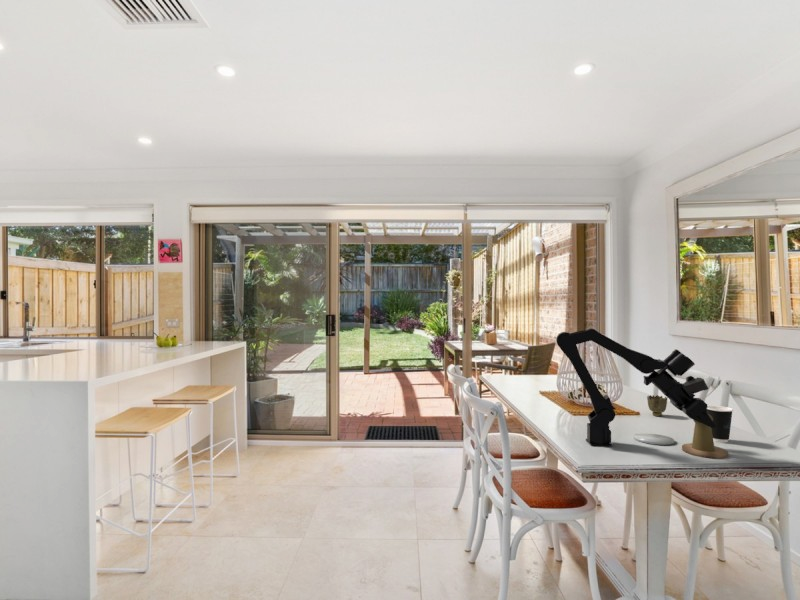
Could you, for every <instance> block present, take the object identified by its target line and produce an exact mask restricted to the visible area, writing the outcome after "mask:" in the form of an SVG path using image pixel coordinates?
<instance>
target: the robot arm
mask: <svg viewBox="0 0 800 600" xmlns="http://www.w3.org/2000/svg"><path fill="white" fill-rule="evenodd" d="M555 340H556V343H557V346H558V347H559V349H560V350H561V351H562V352H563V354H564V355H565V356H566V357H567V358H568V360H569V361H570V363H571V365H572V366H573V368H574V370H575V373H576V374H577V376H578V377H579V380H580V381H581V383H582V385H583V386H584V389H585V391H586V392H587V394H588V396H589V398H590V401H591V406H592V409H593V410H592V411H591V412H590V413H589V414H588V415H587V419H588V421H589V422H587V423H586V438H585V441H586V442H587V443H588V444H589V445H590V446H592V447H593V446H594V447H596V446H597V447H612V430H611V429H610V423H611V422H612V421H614V420H615V417H616V411H615V410H616V407H615V406H614V404H613V403H612V400H611V398H610V397H609V395H608V394H605V395H604V394H602V392H601V391H600V389H599V387H598V386H597V384H596V382H595V381H594V379H593V377H592V375H591V374H590V371H589V370H588V368H587V366H586V365H585V362H584V361H583V359H582V356H581V355H580V352H579V349H578V346H577V345H580V344H584V343H586V342H590V341H591V342H594V343H595V344H596V345H599V346H600V347H602V348H604V349H606V350H608V351H609V352H611V353H613V354H615V355H616V356H619V357H621V358H622V359H624V360H625V362H627V363H628V364H629V365H631V366H632V367H633V368H635V369H636V370H638V371H639V372H640V373H641V374H645V375H644V376H643V384H644V385H645V386H649V385H650V384H653V386H655V387H656V389H658V390H659V391H660V392H661V393H662V395H664V397H666V398H667V399H668V400H669V403H671V405H672V406H673V407H675V408H676V409H678V410H679V411H681V412H682V413H683V414H685V415H686V416H687V417H688V418H690V419H691V420H693V421H694V420H696V421H698V422H700V423H702V424H705V425H707V426H709V427H711V428H715V427H716V425H715V424H714V422H713V421H712V419H711V418H710V417H709V415H708V414H707V412H706V411H707V406H708V404H707V403H706V402H705V401H704V400H703V399H701V398H700V397H695V396H696V393H700V392H703V391H707V390H709V386H708V385H707V383H706V381H705V379H704V378H703V377H702V378H701V377H696V378H695V377H694V376H693V375H689V376H687V377H685V381H684V383H682V382H680V381H679V380H677V379H676V378H674V377H676V376H679V377H682V376H683V375H685V374H686V373H687V372H688V371H689V370H690V369H691V368H693V367H694V366H695V365H696V364H695V362H694V361H693V360H692V359H691V358H689V357H688V356H686V355H685V354H684V353H683V352H681V351H680V350H678V349H676V348H675V349H674V350H673V351H672V352H671V354H669V355H668V356H667V357H666V358H665V359H664V360H662V359H660V358H657V359H655V358H653V357H652V356H651V355H648V354H645V353H643V352H640V351H638V350H637V351H636V350H633V349H632V348H631V349H630V348H628V347H626V346H624V345H623V344H621V343H619V342H618V341H615V340H613V339H611V338H609V337H608V336H606V335H605V334H602V333H601V332H598V331H597V330H596V329H594V328H592V327H591V328H590V327H589V328H587V329H584V330H579V331H578V330H577V331H574V332H569V331H562V332H560V333H558V335H556V339H555ZM670 373H671V374H670ZM648 374H649V375H648ZM672 375H673V376H674V377H673V376H672Z"/></svg>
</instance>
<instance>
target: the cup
mask: <svg viewBox="0 0 800 600" xmlns="http://www.w3.org/2000/svg"><path fill="white" fill-rule="evenodd" d="M646 398H647V399H646V400H647V407H648V409H649V410H650V411H651V412H652V416H655V417H662V416H663V413H664V412H665V411H666V410H667V406H668V397H667V396H664V397H663V396H662V395H658V394H656V395H654V394H653V395H647V396H646Z"/></svg>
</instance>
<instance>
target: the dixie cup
mask: <svg viewBox="0 0 800 600" xmlns="http://www.w3.org/2000/svg"><path fill="white" fill-rule="evenodd" d="M733 411H734V408H731V407H729V406H728V407H727V406H723V405H722V406H721V405H707V411H706V412H707V414H710V415H711V416H712V418H713V422H714V424H715V425H716V427H715V428H711V429H712V435H713V442H716V443H723V444H724V443H728V442H729V439H730V436H731V435H730V434H731V425H732V416H733Z"/></svg>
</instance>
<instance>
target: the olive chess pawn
mask: <svg viewBox="0 0 800 600" xmlns="http://www.w3.org/2000/svg"><path fill="white" fill-rule="evenodd" d="M708 415H709V417H710V418H711V419H712V421H713V418H712V416H711V415H710V414H708ZM693 422H694V428H693V436H692V442H691V443H692V448H693V449H696V450H700V451H707V452H712V451H715V448H714V446H715V443H714V442H715V441H713V435H712V429H711V427H709V426H707V425H705V424H702V423H700V422H698V421H696V420H693Z"/></svg>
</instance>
